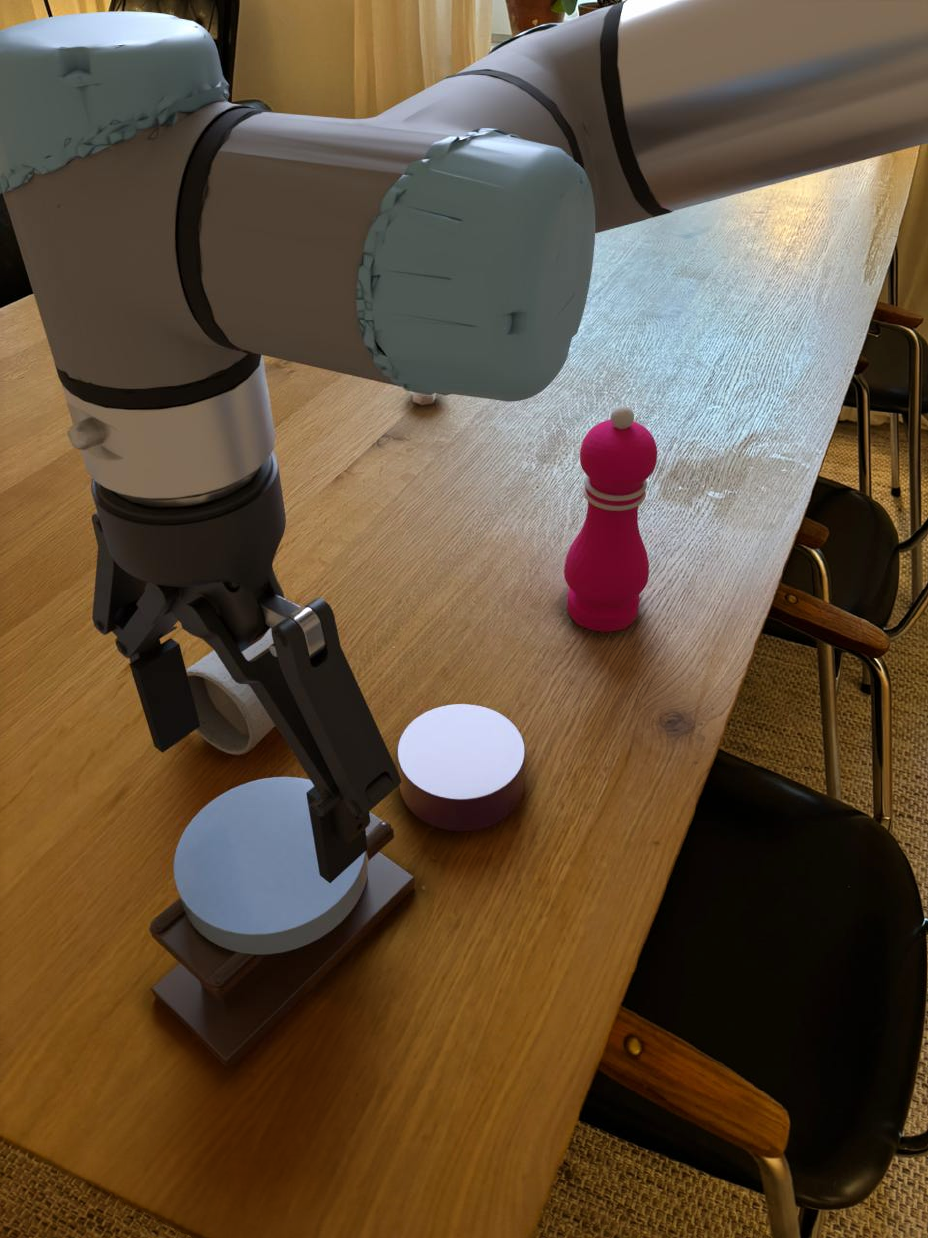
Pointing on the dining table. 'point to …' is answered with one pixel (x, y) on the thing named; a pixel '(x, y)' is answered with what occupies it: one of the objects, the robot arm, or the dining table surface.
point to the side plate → (261, 871)
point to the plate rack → (264, 963)
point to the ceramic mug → (228, 703)
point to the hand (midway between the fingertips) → (255, 796)
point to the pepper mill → (611, 525)
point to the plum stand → (461, 767)
